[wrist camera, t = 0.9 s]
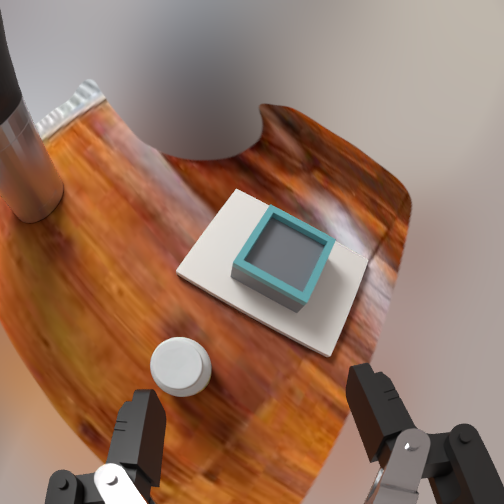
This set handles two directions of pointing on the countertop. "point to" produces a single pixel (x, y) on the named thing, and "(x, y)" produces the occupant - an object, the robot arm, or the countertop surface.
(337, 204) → the countertop surface
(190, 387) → the supplement bottle
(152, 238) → the countertop surface
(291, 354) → the countertop surface
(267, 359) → the countertop surface
